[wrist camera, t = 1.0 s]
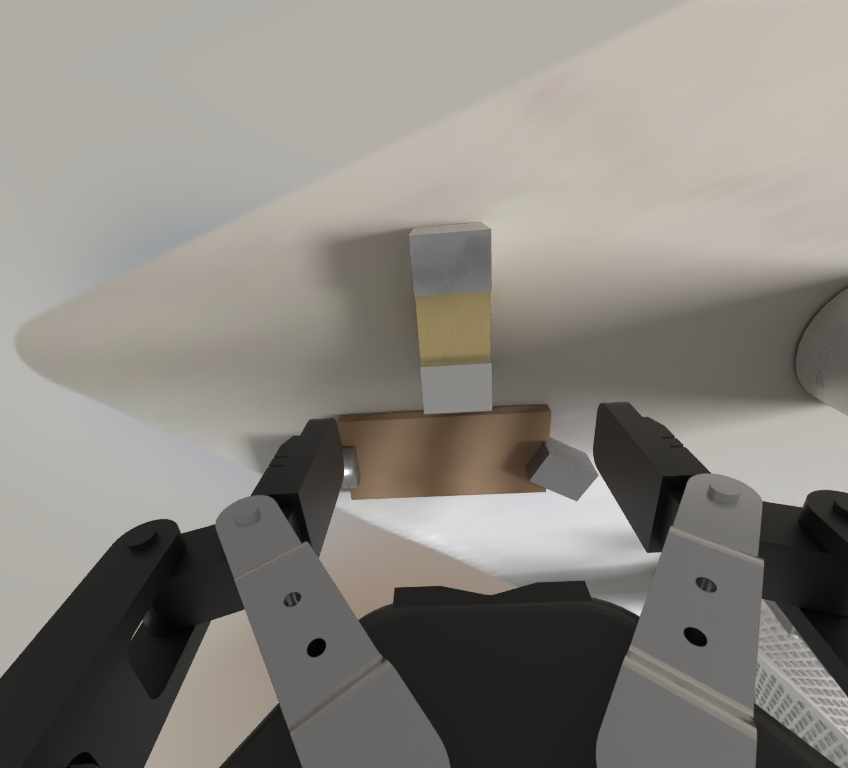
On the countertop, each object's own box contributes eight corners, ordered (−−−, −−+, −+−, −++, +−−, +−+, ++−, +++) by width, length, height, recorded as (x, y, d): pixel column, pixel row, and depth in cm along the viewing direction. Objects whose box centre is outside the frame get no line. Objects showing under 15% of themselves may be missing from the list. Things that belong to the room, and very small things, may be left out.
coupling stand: (591, 402, 29) (613, 432, 26) (583, 481, 32) (601, 518, 28) (300, 417, 30) (281, 448, 27) (317, 492, 33) (303, 529, 30)
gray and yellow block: (480, 222, 24) (491, 229, 20) (483, 376, 29) (492, 410, 24) (413, 227, 25) (408, 235, 20) (425, 379, 29) (424, 414, 24)
